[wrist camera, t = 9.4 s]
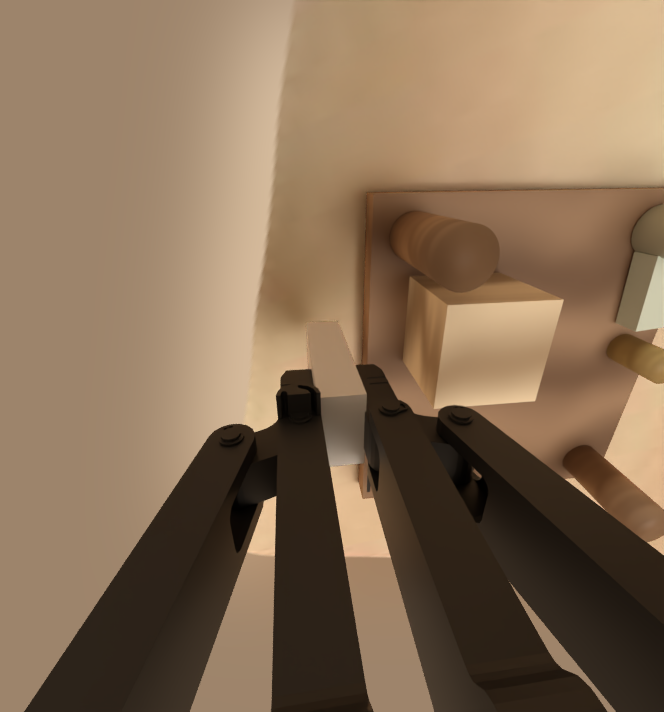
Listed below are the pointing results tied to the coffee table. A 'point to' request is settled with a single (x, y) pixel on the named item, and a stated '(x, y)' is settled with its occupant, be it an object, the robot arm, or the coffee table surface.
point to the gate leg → (645, 275)
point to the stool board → (543, 271)
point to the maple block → (478, 340)
